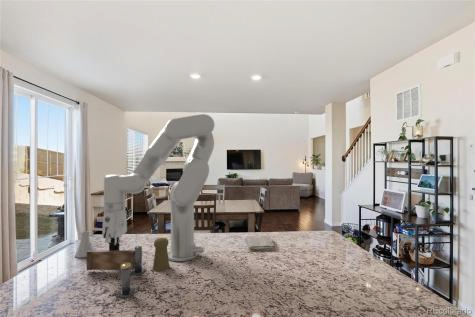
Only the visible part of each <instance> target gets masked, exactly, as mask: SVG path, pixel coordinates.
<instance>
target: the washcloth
mask: <svg viewBox="0 0 475 317" xmlns="http://www.w3.org/2000/svg"><path fill="white" fill-rule="evenodd" d="M245 243H246V245H247V247H248V252H255V251H258V252H273V251H275V249H274V247H275V245H274V241H273V240H272V238H271V237H270V236H269V235H259V236H252V235H251V236H245Z"/></svg>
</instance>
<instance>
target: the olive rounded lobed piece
mask: <svg viewBox="0 0 475 317" xmlns="http://www.w3.org/2000/svg"><path fill="white" fill-rule="evenodd" d="M168 246H169V240H168V238H167V237H158V238H156V239H155V240H154V242H153V247H154V248H155V250H154V256H153V257H154V258H153V263H152V264H153V265H152V271H154V272H165V271H167V270H169V269H170V268H171V267H170V260H169V259H168V253H169V252H168Z"/></svg>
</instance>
